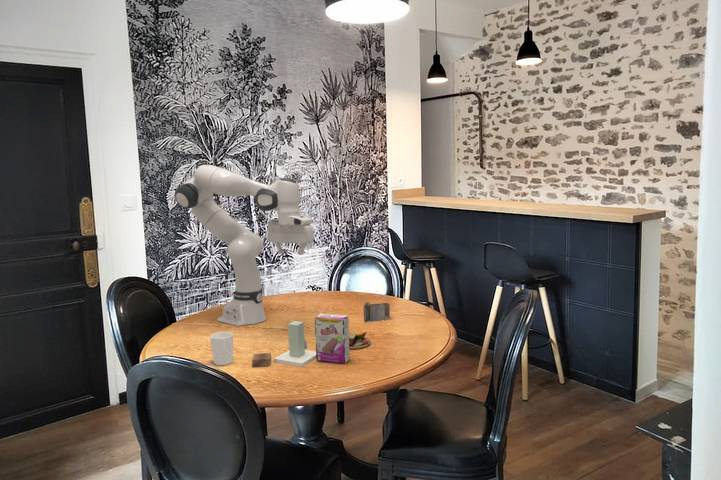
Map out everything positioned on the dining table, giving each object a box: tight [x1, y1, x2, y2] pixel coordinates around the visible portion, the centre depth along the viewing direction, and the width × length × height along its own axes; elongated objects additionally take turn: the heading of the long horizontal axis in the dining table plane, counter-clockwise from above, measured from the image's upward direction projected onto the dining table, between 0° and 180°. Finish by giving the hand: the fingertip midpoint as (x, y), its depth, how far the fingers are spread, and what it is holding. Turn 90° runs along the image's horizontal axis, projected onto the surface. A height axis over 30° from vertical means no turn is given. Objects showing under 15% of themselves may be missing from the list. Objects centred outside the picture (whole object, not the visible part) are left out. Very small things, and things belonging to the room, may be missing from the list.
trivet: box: [273, 349, 316, 368], centre depth 190 cm, size 12×12×1 cm
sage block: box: [287, 320, 306, 358], centre depth 190 cm, size 4×4×12 cm
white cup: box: [209, 331, 234, 366], centre depth 189 cm, size 8×8×10 cm
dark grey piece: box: [363, 301, 391, 323], centre depth 234 cm, size 11×3×10 cm, turn 103°
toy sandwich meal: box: [349, 331, 371, 350], centre depth 204 cm, size 12×14×5 cm
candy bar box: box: [314, 313, 351, 365], centre depth 186 cm, size 11×5×16 cm, turn 71°
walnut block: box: [251, 352, 272, 368], centre depth 186 cm, size 6×6×3 cm
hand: (290, 254), depth 211 cm, fingers open, 8 cm apart
